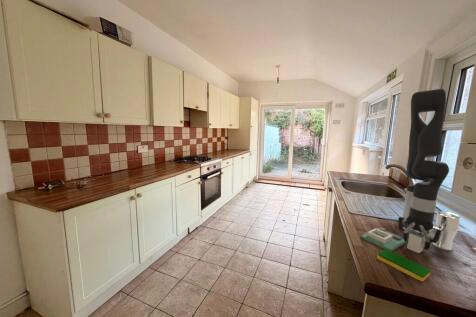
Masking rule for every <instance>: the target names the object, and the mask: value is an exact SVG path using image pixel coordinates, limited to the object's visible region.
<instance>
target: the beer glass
mask: <svg viewBox="0 0 476 317" xmlns="http://www.w3.org/2000/svg"><path fill="white" fill-rule="evenodd" d="M460 219H461V216H459V215H457V214H456V213H451V212H448V211H447V212H446V211H437V214H436V217H435V223H434V227H436V228H441V229H443V232H442V234H441V236H440V239H439V241H438V242H437V243H433V242H432V244H433V246H435V247H436V248H438V249H440V250H444V251H453V242H454V239H455V237H456V235H457V233H458V232H459V231H458V230H459V227H460V221H461V220H460Z"/></svg>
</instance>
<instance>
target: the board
mask: <svg viewBox="0 0 476 317" xmlns="http://www.w3.org/2000/svg"><path fill="white" fill-rule="evenodd" d="M360 238H361V239H362V240H364V241H366V242H368V243H371V244H372V245H375V246H377V247H379V248H381V249H383V250H385V249H387V250H389V251H392V252H393V251H395V250H398V249H399V248H400V247H401V246H403V245H405V244H406V243H407V242H405V241H404V239H403V236H401V235H399V234H396V233H393V232H391V231H387V229H386V228H383V227H377V228H374V229H371V230H368V231H367V232H366V233H363V234H362V235H361V236H360Z"/></svg>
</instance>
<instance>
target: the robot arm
mask: <svg viewBox="0 0 476 317" xmlns="http://www.w3.org/2000/svg"><path fill="white" fill-rule="evenodd" d="M447 97H448V96H447V91H446V90H445V89H444V88H435V89H430V90H429V89H428V90H423V91H422V90H421V91H416V92H414V93H413V94H412V95H411V100H410V129H409V130H410V131H409V137H408V159H407V165H406V171H405V174H406V176H407V178H408V179H412V180H418V181H422V182H416V183H414V184H413V183H412V184H408V185H407V186H406V193H405V198H404V205H403V210H402V215H401V216H399V217H398V230H400V231H402V232H403V236H402V237H403V239H404V241H405V242H406V243H408V240H409V234H410V231H411V230H417V231H419V232H421V233H423V235H424V237H425V241H424V246H423V250H425V251H427V250H429V249H431V246H432V244H433V243H437V242H438V241H439V239H440V236H441V234H442V232H443V229H441V228H436V227H435V224H434V219H435V213H436V209H437V208H436V207H437V197H438V192H439V190H440V188H441V186H442V184H443V182H444V181H445V180H446V178H447V176H448V175H449V172H450V167H449V165H448V164H447V163H446V162H444V161H437V160H426V158H434V157H438V156H440V155H442V153H443V148H442V146H443V144H442V142H443V141H442V139H443V138H442V136H443V135H442V134H443V128H444V127H443V126H444V122H445V115H446V114H445V113H446V109H447V99H448V98H447ZM429 112H434V114H433V117H432V118H431V120H430V121H429V122H428V123H427V122H426V121H424V119H423V118H422V116H421V113H429ZM405 222H407V224H408V226H407V227H405ZM431 230H433V233H434V236H433V237H432V235H431V232H430V231H431Z"/></svg>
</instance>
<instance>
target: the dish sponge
mask: <svg viewBox="0 0 476 317" xmlns="http://www.w3.org/2000/svg"><path fill="white" fill-rule="evenodd" d="M376 259H378V260H379V261H381V262H383V263H385V264H387V265H389V266H391V267H393V268H394V269H397V270H398V271H400V272H402V273H404V274H405V275H407V276H410V277H412V278H413V279H415V280H418V281H419V280H420V282H421V281H423V282H425V281H426V279H428V277H429V276H430V274H431V269H430V268H428V267H425V266H424V265H422V264H420V263H417V262H415V261H414V260H413V261H412V260H411V259H408V258H406V257H405V256H402V255H399V253H396V252H393V251H389V250H387V249H383V250H381V251H379V252H378V253H377V257H376Z"/></svg>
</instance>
